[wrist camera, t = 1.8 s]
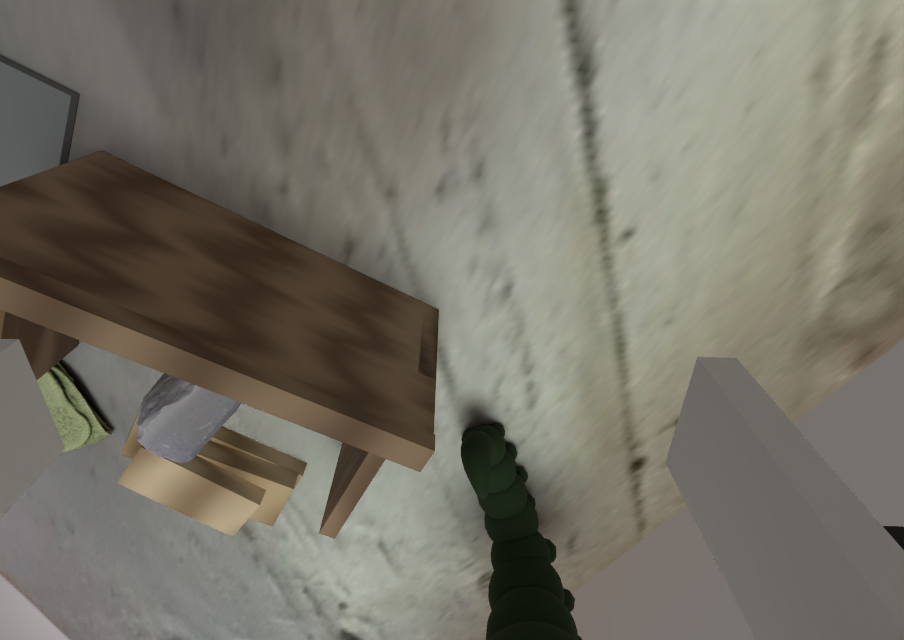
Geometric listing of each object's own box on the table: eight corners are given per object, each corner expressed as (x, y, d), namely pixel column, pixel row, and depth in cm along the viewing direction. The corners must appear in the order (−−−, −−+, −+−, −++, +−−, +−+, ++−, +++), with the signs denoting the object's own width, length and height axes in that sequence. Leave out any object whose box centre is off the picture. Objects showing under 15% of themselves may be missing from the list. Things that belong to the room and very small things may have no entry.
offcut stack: (132, 439, 46) (96, 484, 41) (153, 392, 44) (118, 434, 39) (280, 500, 50) (263, 548, 45) (308, 460, 47) (292, 506, 43)
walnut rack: (61, 339, 41) (-128, 490, 27) (101, 147, 34) (-126, 226, 20) (354, 451, 46) (315, 622, 33) (439, 307, 39) (434, 451, 26)
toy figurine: (482, 553, 53) (505, 922, 31) (416, 412, 44) (382, 790, 22) (574, 532, 51) (666, 905, 30) (525, 383, 43) (603, 755, 21)
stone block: (231, 389, 43) (175, 482, 34) (178, 355, 41) (105, 443, 33) (319, 295, 39) (282, 374, 30) (265, 253, 37) (208, 323, 28)
